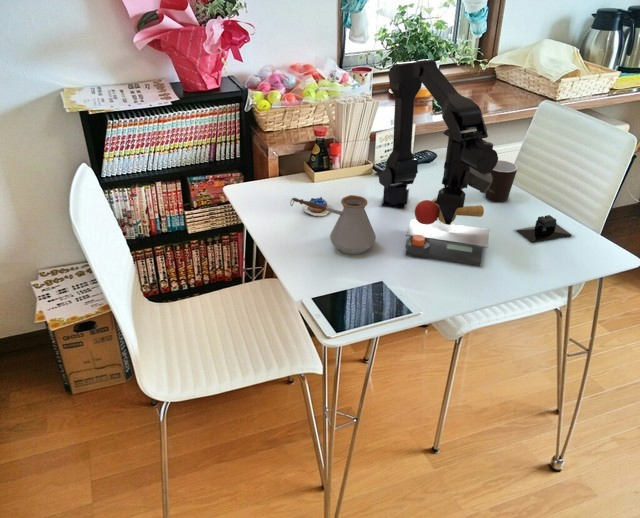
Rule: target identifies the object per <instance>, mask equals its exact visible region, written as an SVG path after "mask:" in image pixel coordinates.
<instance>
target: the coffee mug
mask: <svg viewBox="0 0 640 518" xmlns="http://www.w3.org/2000/svg"><path fill="white" fill-rule="evenodd" d="M518 169H519V168H518V165H516V164H515V163H514V162H511V161H508V160H503V159H501V160H499V159H498V162H497V164H496V166H495V168H494V169H493V170H492V171H491V172H489V173H488V174H491V176H492V177H493V178H492V183H491V185H490V186H489V188H488V190H487V191H486V193H484V194H485V196H484V197H485V199H486V200H488V201H490V202H492V203H506V202H507V201H508V199H509V198H510V197H509V196H510V194H511V190H512V187H513V185H514V184H513V183H514V182H515V178H516V175H517V172H518Z"/></svg>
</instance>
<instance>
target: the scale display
mask: <svg viewBox="0 0 640 518" xmlns="http://www.w3.org/2000/svg"><path fill="white" fill-rule="evenodd" d="M446 249H450V250H456V251H463V252H470V253H472V248H471V247H464V246H458V245H451V244H447V248H446Z"/></svg>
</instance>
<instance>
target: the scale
mask: <svg viewBox="0 0 640 518" xmlns="http://www.w3.org/2000/svg"><path fill="white" fill-rule="evenodd" d="M412 238H413V237H409V238H407V239H406V241H405V247H404V248H405V256H408V257H415V258H420V259H428V260H434V261H441V262H446V263H447V262H448V263H453V264H460V265H467V266H473V267H481V265H482V259H483V250H484V247H478V246H472V245H465V244H458V243H451V242H444V241H437V240H430V239H425V242H424V246H414V245H413V244H412ZM447 244H451V245H458V246H464V247H471V248H472V253H470V252H463V251H456V250H450V249H446V248H447Z"/></svg>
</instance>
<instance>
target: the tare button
mask: <svg viewBox="0 0 640 518" xmlns="http://www.w3.org/2000/svg"><path fill="white" fill-rule="evenodd" d="M424 242H425V237H424V236H422V235H414V236H413V238H412V244H413V245H414V246H424Z"/></svg>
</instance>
